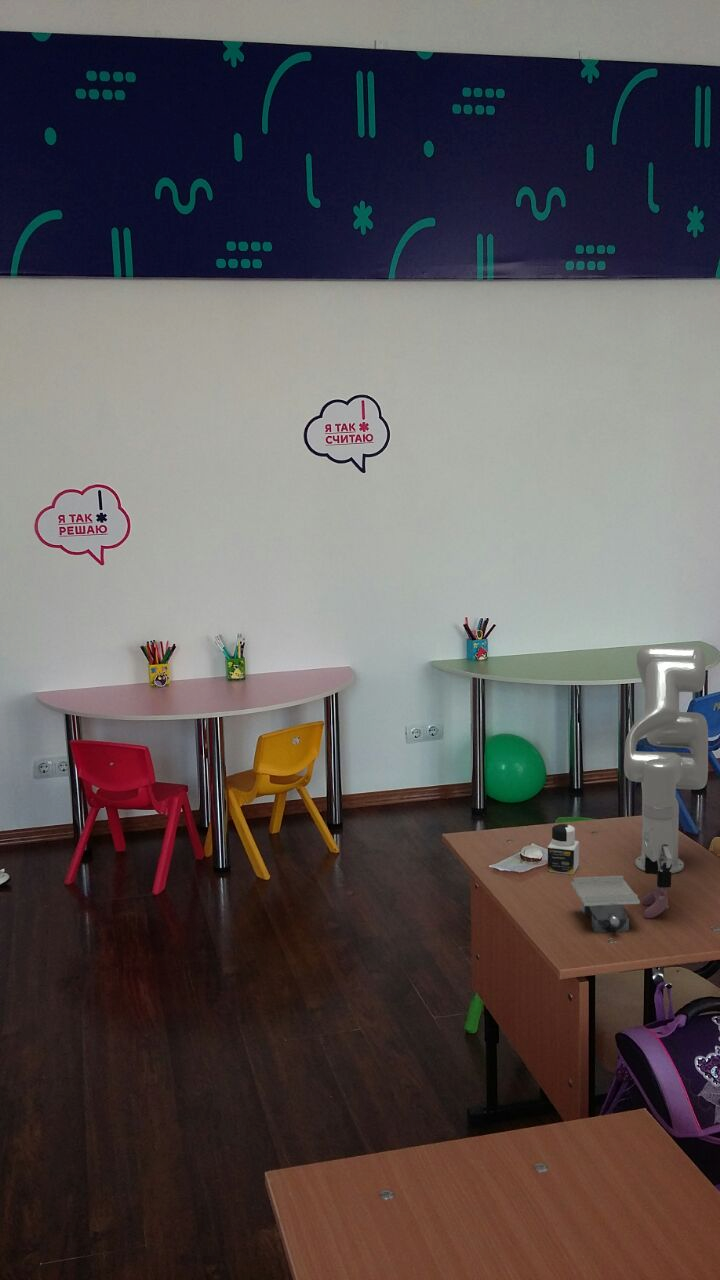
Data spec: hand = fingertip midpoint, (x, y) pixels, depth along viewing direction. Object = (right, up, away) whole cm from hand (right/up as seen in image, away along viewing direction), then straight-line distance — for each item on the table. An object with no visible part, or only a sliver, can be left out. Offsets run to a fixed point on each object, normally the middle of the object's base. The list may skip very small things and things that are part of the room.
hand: (657, 880), depth 268 cm
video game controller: (0, -8, +2) cm, 9 cm away
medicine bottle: (-17, -4, +32) cm, 36 cm away
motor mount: (-13, -9, -4) cm, 17 cm away
